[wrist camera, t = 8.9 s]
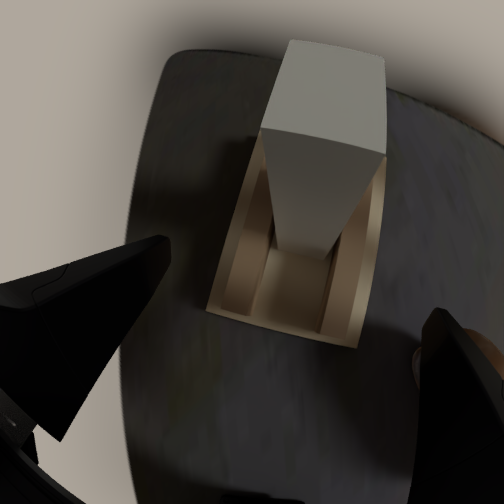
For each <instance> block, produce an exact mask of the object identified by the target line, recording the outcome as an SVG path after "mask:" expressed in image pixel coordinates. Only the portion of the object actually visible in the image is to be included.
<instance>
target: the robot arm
mask: <svg viewBox="0 0 504 504" xmlns="http://www.w3.org/2000/svg"><path fill="white" fill-rule="evenodd" d="M170 263H171V242H170V239H169V238H168V237H166V236H162V235H156V236H152V237H149V238H145V239H142V240H139V241H136V242H132V243H129V244H126V245H123V246H120V247H116V248H113V249H110V250H107V251H104V252H101V253H98V254H94V255H92V256H88V257H86V258H82V259H79V260H77V261H73V262H71V263H70V264H64V265H62V266H59V267H56V268H53V269H50V270H47V271H44V272H40V273H37V274H33V275H30V276H26V277H23V278H19V279H16V280H13V281H9V282H6V283H1V284H0V504H86V503H84V502H83V501H81V500H80V499H78V498H77V497H76V496H74V495H73V494H72V493H70V492H69V491H68V490H66V489H65V488H64V487H62V486H61V485H60V484H59V483H57V482H56V481H55V480H54V479H52V478H51V477H50V476H49V475H48V474H46V473H45V472H44V471H43V470H42V469H41V468H40V467H39V466H38V463H39V462H38V457H37V451H36V445H35V438H34V433H33V432H32V431H33V429H34V428H35V427H36V425H37V424H38V425H39V426H40V427H41V428H43V429H44V430H45V431H46V432H48V433H49V434H50V435H51V436H52V437H54V438H55V439H56V440H57V441H59V442H61V441H62V439H63V437H64V435H65V434H66V432H67V430H68V428H69V427H70V425H71V423H72V421H73V419H74V418H75V416H76V414H77V413H78V411H79V409H80V407H81V406H82V404H83V403H84V401H85V399H86V398H87V396H88V394H89V392H90V391H91V389H92V387H93V386H94V384H95V382H96V381H97V379H98V378H99V376H100V375H101V373H102V371H103V370H104V368H105V367H106V365H107V363H108V362H109V360H110V359H111V357H112V356H113V354H114V353H115V351H116V350H117V348H118V346H119V345H120V343H121V342H122V340H123V339H124V337H125V336H126V334H127V333H128V331H129V330H130V328H131V327H132V325H133V324H134V323H135V321H136V320H137V318H138V317H139V315H140V314H141V312H142V311H143V309H144V308H145V306H146V305H147V304H148V302H149V301H150V299H151V297H152V296H153V294H154V292H155V290H156V289H157V287H158V285H159V283H160V281H161V280H162V278H163V276H164V274H165V272H166V271H167V269H168V267H169V265H170ZM225 499H228V500H229V501H226V500H225ZM220 504H305V503H304V502H301V501H279V500H266V499H256V498H248V497H240V496H233V495H223V496H222V497H221V499H220ZM407 504H504V380H502V377H501V376H500V374H499V373H498V372H497V370H496V369H495V368H494V366H493V365H492V364H491V362H490V361H489V360H488V358H487V357H486V356H485V355H484V353H483V352H482V351H481V350H480V348H479V347H478V346H477V345H476V343H475V342H474V341H473V340H472V339H471V337H470V336H469V335H468V334H467V333H466V332H465V330H464V329H463V328H462V327H461V326H460V325H459V323H458V322H457V321H456V320H455V319H454V318H453V317H452V316H451V314H450V313H449V312H448V311H447V310H446V309H442V308H438V307H437V308H435V309H434V310H433V311H432V313H431V314H430V316H429V317H428V319H427V320H426V322H425V324H424V325H423V328H422V339H421V357H420V397H419V421H418V435H417V446H416V455H415V463H414V470H413V476H412V482H411V487H410V492H409V497H408V502H407Z"/></svg>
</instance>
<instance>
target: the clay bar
mask: <svg viewBox="0 0 504 504" xmlns="http://www.w3.org/2000/svg"><path fill="white" fill-rule="evenodd" d="M386 125H387V117H386V83H385V65H384V58H383V57H380V56H376V55H372V54H368V53H365V52H361V51H357V50H352V49H347V48H343V47H338V46H333V45H327V44H321V43H315V42H308V41H301V40H292V39H291V40H290V43H289V45H288V48H287V52H286V54H285V57H284V59H283V62H282V65H281V68H280V71H279V74H278V76H277V79H276V82H275V85H274V88H273V91H272V94H271V97H270V100H269V103H268V106H267V109H266V112H265V115H264V118H263V121H262V124H261V127H260V128H261V134H262V141H263V147H264V154H265V160H266V167H267V173H268V180H269V187H270V194H271V201H272V208H273V215H274V223H275V230H276V237H277V245H278V250H281V251H285V252H290V253H294V254H298V255H302V256H307V257H311V258H315V259H319V260H324V259H325V257H326V256H327V254H328V252H329V251H330V249H331V248H332V246H333V244H334V243H335V241H336V240H337V238H338V236H339V235H340V233H341V231H342V230H343V228H344V227H345V225H346V223H347V222H348V220H349V218H350V217H351V215H352V213H353V212H354V210H355V208H356V206H357V205H358V203H359V201H360V200H361V198H362V196H363V194H364V193H365V191H366V189H367V187H368V186H369V184H370V182H371V180H372V178H373V177H374V175H375V173H376V171H377V169H378V168H379V166H380V164H381V162H382V160H383V158H384V157H385V155H386Z"/></svg>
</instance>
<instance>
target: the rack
mask: <svg viewBox="0 0 504 504" xmlns="http://www.w3.org/2000/svg"><path fill="white" fill-rule="evenodd" d="M386 159H387V157H384V158H383V160H382V162H381V164H380V166H379V168H378V169H377V171H376V173H375V175H374V177H373V178H372V180H371V182H370V184H369V186H368V187H367V189H366V191H365V193H364V194H363V196H362V198H361V200H360V201H359V203H358V205H357V206H356V208H355V210H354V212H353V213H352V215H351V217H350V218H349V220H348V222H347V223H346V225H345V227H344V228H343V230H342V231H341V233H340V235H339V236H338V238H337V240H336V241H335V243H334V244H333V246H332V248H331V249H330V251H329V252H328V254H327V256H326V257H325V259H324V260H319V259H315V258H311V257H307V256H302V255H298V254H294V253H290V252H285V251H281V250H278V245H277V237H276V230H275V223H274V215H273V208H272V201H271V194H270V187H269V180H268V173H267V167H266V160H265V154H264V147H263V141H262V134H261V130H260V131H259V135H258V138H257V141H256V144H255V147H254V150H253V153H252V156H251V159H250V162H249V166H248V169H247V172H246V175H245V178H244V181H243V185H242V188H241V191H240V194H239V198H238V201H237V204H236V207H235V211H234V214H233V217H232V221H231V224H230V227H229V231H228V234H227V237H226V241H225V244H224V248H223V251H222V255H221V258H220V262H219V265H218V268H217V272H216V276H215V279H214V283H213V286H212V290H211V293H210V297H209V300H208V304H207V308H206V311H208V312H211V313H214V314H218V315H221V316H225V317H228V318H232V319H235V320H239V321H242V322H246V323H250V324H253V325H257V326H261V327H265V328H268V329H272V330H276V331H280V332H284V333H288V334H292V335H297V336H301V337H305V338H309V339H314V340H318V341H323V342H327V343H332V344H337V345H342V346H346V347H351V348H357V346H358V342H359V338H360V334H361V330H362V326H363V322H364V317H365V313H366V309H367V304H368V299H369V294H370V289H371V284H372V279H373V273H374V268H375V262H376V256H377V249H378V242H379V235H380V228H381V219H382V211H383V201H384V190H385V176H386Z"/></svg>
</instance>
